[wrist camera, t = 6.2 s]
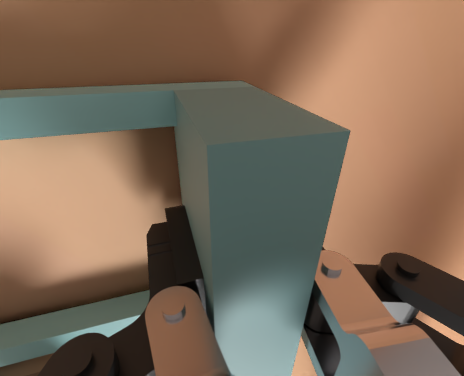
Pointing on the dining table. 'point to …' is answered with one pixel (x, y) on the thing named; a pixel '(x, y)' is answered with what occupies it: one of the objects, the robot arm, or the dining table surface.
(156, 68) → the dining table surface
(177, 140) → the frame
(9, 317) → the dining table surface
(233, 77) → the dining table surface
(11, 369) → the walnut lane broken
